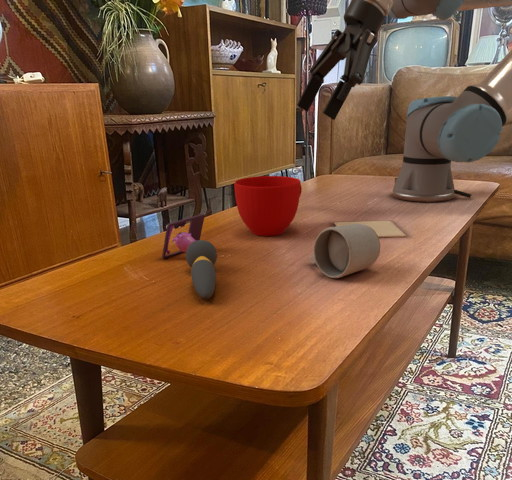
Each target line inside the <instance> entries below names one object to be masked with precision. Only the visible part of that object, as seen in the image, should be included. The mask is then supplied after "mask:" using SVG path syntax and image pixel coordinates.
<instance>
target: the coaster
mask: <svg viewBox="0 0 512 480" xmlns="http://www.w3.org/2000/svg"><path fill="white" fill-rule="evenodd" d="M333 224H334V225H335V226H334V227H337V226H345V225H351V224H363V225H367V226H369V227H371V228H372V229H373V230H374V231H375V232H376V234H377V235H378V238H406V237H407V235H406V234H405V233H404V231H402V230H401V229H400V228H399V227H398V226H396V224H395V223H393V222H392V221H391V220H367V221H362V220H361V221H360V220H359V221H334V222H333Z"/></svg>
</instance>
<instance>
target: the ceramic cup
mask: <svg viewBox="0 0 512 480" xmlns="http://www.w3.org/2000/svg"><path fill="white" fill-rule="evenodd" d="M233 185H234V196H235V202H236V208H237V211H238V214H239V217H240V219H241V220H242V222H243V223H244V225H245V226H246V227H247V229H249V231H251V233H252V234H253V235H256V236H262V237H264V236H265V237H271V236H278V235H282V234H284V233H285V231H286V230H287V229H288V228H289V226H290V225H291V224H292V222H293V221H294V219H295V217H296V215H297V212H298V210H299V209H298V208H299V203H300V198H301V195H302V191H303V190H302V189H303V188H302V184H301V179H299V178H298V177H297V178H296V177H293V176H292V177H291V176H283V175H261V176H258V175H257V176H248V177H244V178H239V179H237V180H235V181H234V184H233Z"/></svg>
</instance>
